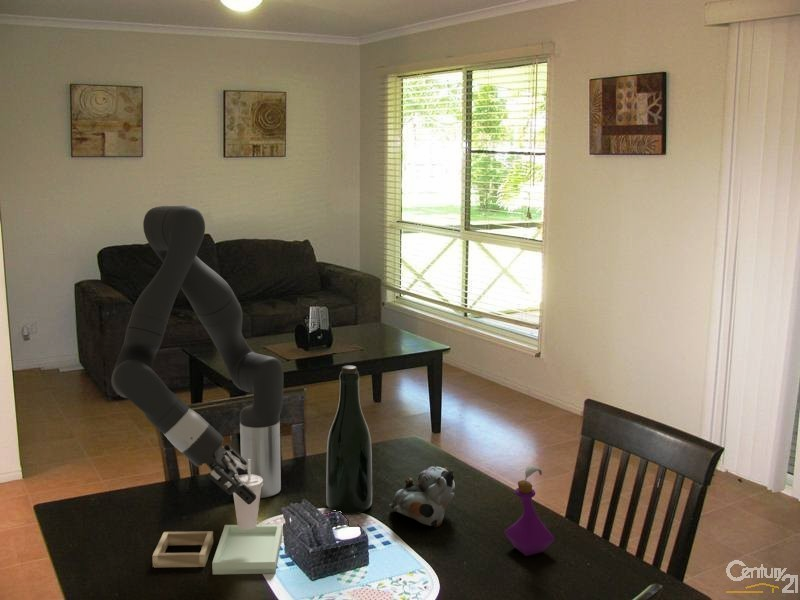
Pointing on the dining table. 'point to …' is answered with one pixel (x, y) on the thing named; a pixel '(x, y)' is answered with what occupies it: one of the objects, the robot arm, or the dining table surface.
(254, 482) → the smoothie
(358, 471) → the green wine bottle
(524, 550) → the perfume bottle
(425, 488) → the lucky cat figurine
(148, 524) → the dining table surface
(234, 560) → the tray
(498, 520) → the dining table surface
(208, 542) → the collar
